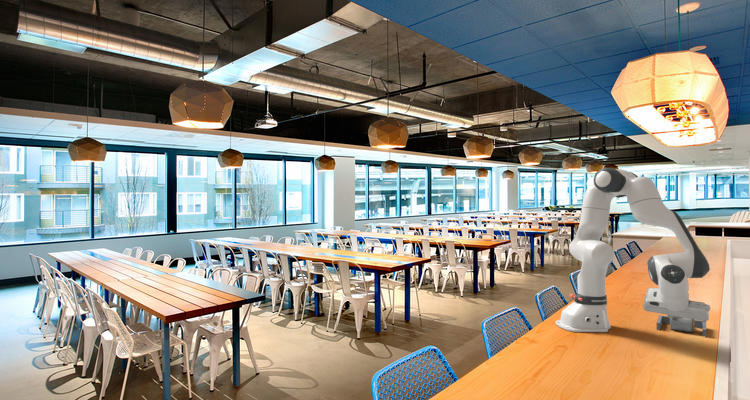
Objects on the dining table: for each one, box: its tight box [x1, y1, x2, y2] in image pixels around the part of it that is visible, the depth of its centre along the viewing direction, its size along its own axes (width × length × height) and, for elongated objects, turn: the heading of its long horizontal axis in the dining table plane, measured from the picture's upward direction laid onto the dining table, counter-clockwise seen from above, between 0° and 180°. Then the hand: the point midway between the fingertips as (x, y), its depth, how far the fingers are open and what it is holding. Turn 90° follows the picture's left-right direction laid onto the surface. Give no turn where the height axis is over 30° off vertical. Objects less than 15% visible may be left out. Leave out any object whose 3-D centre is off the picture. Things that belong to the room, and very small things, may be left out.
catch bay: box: [655, 314, 707, 338], centre depth 169 cm, size 14×16×3 cm
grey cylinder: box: [669, 318, 696, 333], centre depth 169 cm, size 11×8×8 cm
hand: (675, 319), depth 155 cm, fingers closed
